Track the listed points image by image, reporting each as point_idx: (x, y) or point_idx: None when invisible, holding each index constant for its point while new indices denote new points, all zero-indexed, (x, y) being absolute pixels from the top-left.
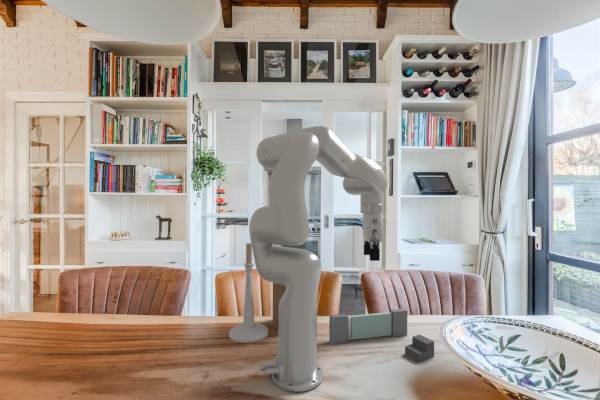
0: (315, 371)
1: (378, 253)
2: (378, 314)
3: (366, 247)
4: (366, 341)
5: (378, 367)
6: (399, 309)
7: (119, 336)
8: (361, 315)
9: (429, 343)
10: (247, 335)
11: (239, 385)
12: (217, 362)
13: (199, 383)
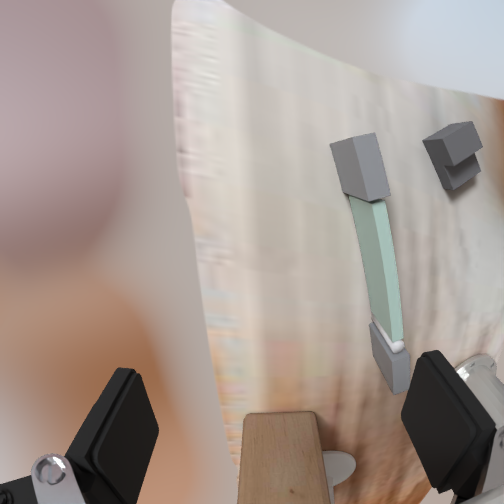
0: (488, 369)
1: (466, 399)
2: (393, 252)
3: (135, 474)
4: None
5: (477, 263)
6: (365, 160)
7: None
8: (395, 311)
9: (478, 138)
10: (349, 472)
11: None
12: (402, 468)
13: None
